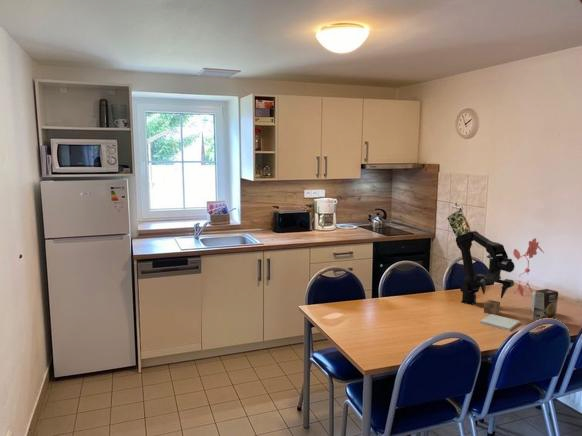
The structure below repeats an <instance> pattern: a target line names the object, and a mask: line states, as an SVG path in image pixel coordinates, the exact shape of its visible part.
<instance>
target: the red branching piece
mask: <svg viewBox="0 0 582 436" xmlns="http://www.w3.org/2000/svg"><path fill="white" fill-rule="evenodd" d="M538 249H539V250H540V251H541V252H542V253H543V254H544V253H545V252H544V251H543V250H542V248H541V247H540V246H539V241H537V238H536V237H534V238H532V240H529V241H528V248H527V250H526V252H525V253H524V254H522V255H521V254H520V251H518V250H517V248H514V249H513V252H512V253H513V256H514V257H515V258H516V260H517V261H519V260H520V259H521V258H522V257H525V260H527V267H526V268H525V269H524V272H523V273H521V274H519V276H521V275H523V274H525V273H527V274H529V272H530V270H531V269H530V268H529V267H530V266H529V265H530V259H532V258H533V257H534V256H536V255H537V253H538V252H537V250H538ZM527 256H528V258H529V259H528V258H527ZM518 282H519V283H518V284H517V288H516V289H515V291H514V294H516V292H517V291H518V292H519V294H520V295H521V296H523V294H524V290H525V289H526V287H528V289H529V290H530V291H531V292H533V290H532V288H531V286H530V284H529V282H528V281H527V282H526V284H525V286H524V287H523V286H522V285H521V281H518Z"/></svg>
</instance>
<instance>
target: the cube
mask: <svg viewBox="0 0 582 436" xmlns="http://www.w3.org/2000/svg"><path fill="white" fill-rule="evenodd" d="M483 304H484V305H483V313H484V314H487V313H488V315H491V314H493V315H497V316H498V315H499V314H500V311H501V310H500V308H501V302H500V301H497V300H494V299H493V300H492V299H487V300H485V301H484V303H483Z"/></svg>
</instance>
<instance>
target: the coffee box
mask: <svg viewBox="0 0 582 436" xmlns="http://www.w3.org/2000/svg"><path fill="white" fill-rule="evenodd" d="M535 292H536V293H535V303H534V313H533V312H532V313H533V316H532V321H533V322H535V321H536V320H539V319H543V318H553V319H556V320H557V310H558V300H559V299H558V298H559V291H557V290H553V289H549V288H545V289H538V290H535Z"/></svg>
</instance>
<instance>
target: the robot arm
mask: <svg viewBox="0 0 582 436" xmlns="http://www.w3.org/2000/svg"><path fill="white" fill-rule="evenodd" d="M473 242H475V243H477V244H479V245H480V246H482V247H483V248H484V249H485V251H486V253H488V255H487V256H486V258H487V259H489V263H488V269H487V273H486V274H482V273H477V274H476V273H475V268H474V267H475V266H474V263H473V258H472V252H471V248H472V246H473ZM455 243H456V245H457V248H458V249H459V250H460V252H461V258H462V263H463V267H464V275H465V276H464V279H463V284H462V285H461V286H460V288H459V290H460V292H462V298H461V299H462V300H460V302H461V303H465V304H469V305H474V304H476V303H477V294H476V293H479V290H480V288H481V291H482V294H483V295H485V294H486V288H487V287H486V286H487V285H486V284H489V285H494V284H496V283H498V284H501V285H502V286H501V291H500V292H501V294H500V298H501V299H503V297H504V295H505V294H506V291H507V290H508V289H509V288H512V287H513V286H515V281H514V280H513V279H508V278H505V279H501V278H502V277H501V273H502V271H503V272H506V273H512V272H513V271H514V270H515V268H516V267H515V263H514V262H513V259H512V258H509V256H508V253H507V251H506V249H505V246H504V244H502V243H499V242H495V241H491V240H490V239H488V238H487V237H485V236H484V235H482V234H480V233H479V232H478V231H476V230H473V231H470V230H469V231H468V232H465V233H463V234H458V235H457V236H456V238H455Z"/></svg>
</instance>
